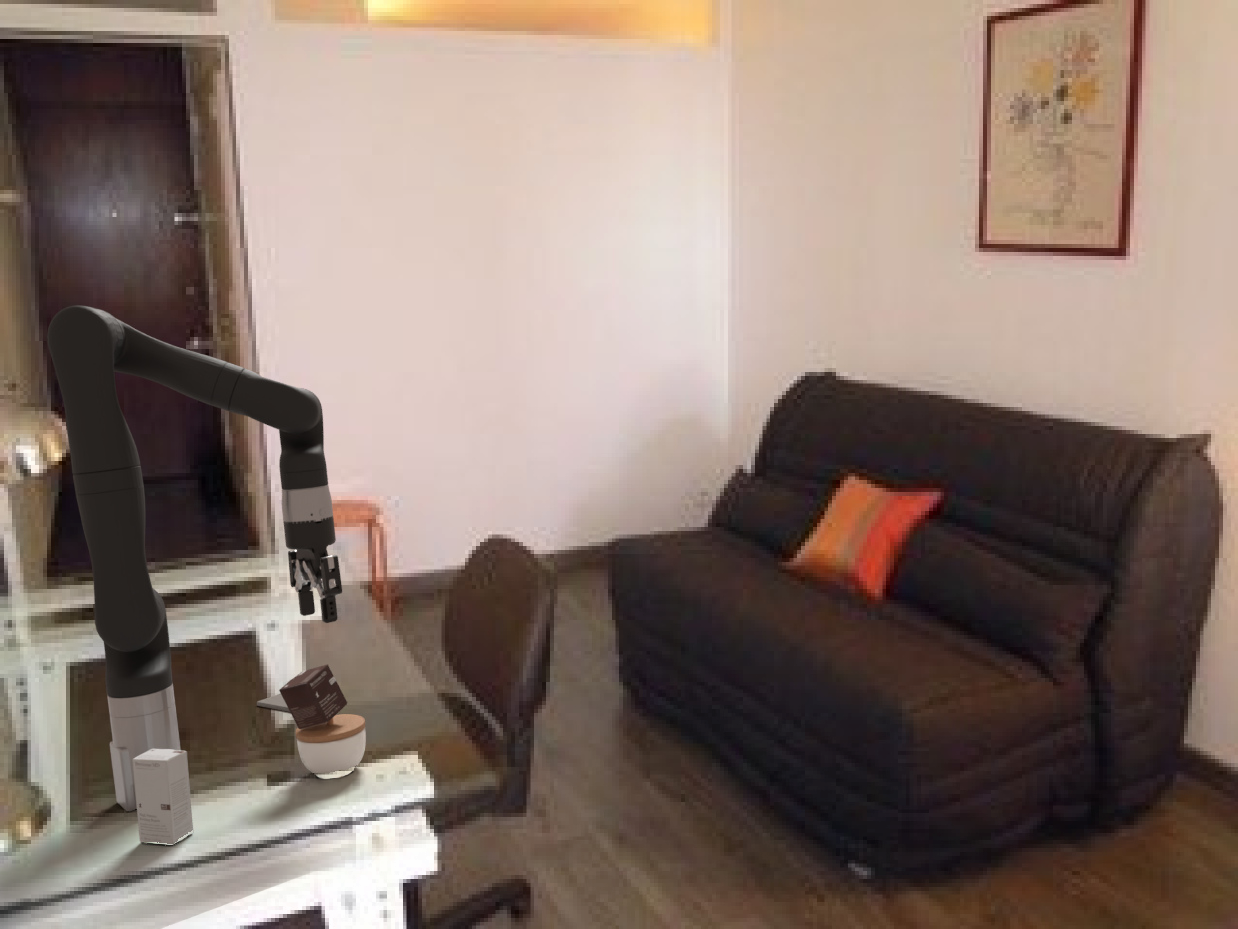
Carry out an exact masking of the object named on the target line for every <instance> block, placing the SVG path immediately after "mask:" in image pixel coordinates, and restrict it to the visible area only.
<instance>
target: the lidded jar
mask: <svg viewBox="0 0 1238 929" xmlns="http://www.w3.org/2000/svg"><path fill="white" fill-rule="evenodd" d="M294 732H295V738H296V744H297V749H298V750H297V751H298V754H299V757H300V760H301V762H302V764H303V765H304V768H306V769H307V770H308V771H309V772H310V773H311V774H313V773H330V772H335V771H339V770H346V769H349V768H351V767H355V766H356V765H357V766H358V765H359V764H360V763H361V761H362V759H363V757H364V754H365V749H366V744H367V741H366V740H367V733H366V719H365V717H363V716H361V715H359V714H350V713H349V714H348V713H347V714H345V713H343V714H341V713H340V714H336V715H335V716H334V717H333V718H332V719H331V720H330V721H328V722H327V723H324V724H320V725H316V726H312V727H308V728H304V729H299V728H298V727H297V728H296V729H295V731H294ZM357 766H356V767H357ZM356 767H355V768H356Z"/></svg>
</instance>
